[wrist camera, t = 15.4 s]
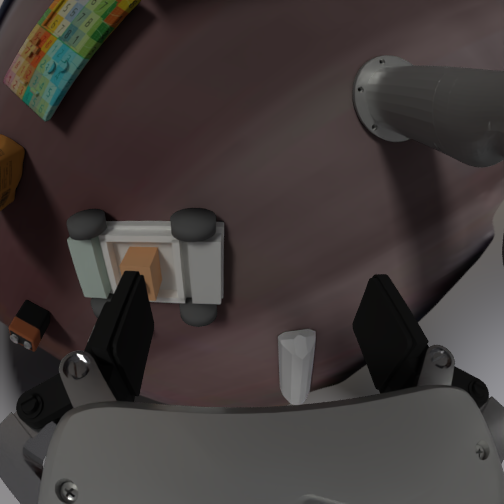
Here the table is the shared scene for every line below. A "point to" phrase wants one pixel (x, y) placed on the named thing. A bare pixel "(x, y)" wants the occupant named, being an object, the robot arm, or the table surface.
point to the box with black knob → (144, 267)
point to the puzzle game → (62, 50)
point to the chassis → (170, 256)
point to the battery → (29, 325)
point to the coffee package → (9, 169)
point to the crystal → (296, 364)
